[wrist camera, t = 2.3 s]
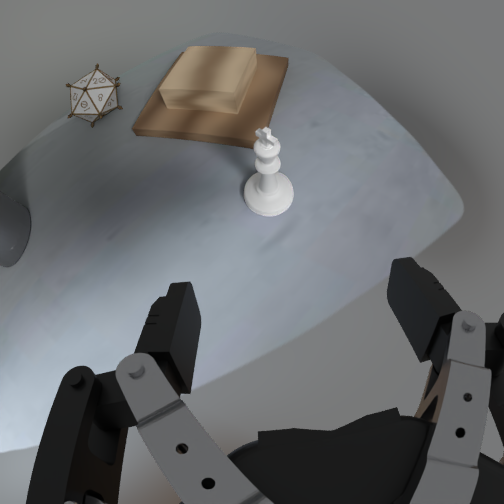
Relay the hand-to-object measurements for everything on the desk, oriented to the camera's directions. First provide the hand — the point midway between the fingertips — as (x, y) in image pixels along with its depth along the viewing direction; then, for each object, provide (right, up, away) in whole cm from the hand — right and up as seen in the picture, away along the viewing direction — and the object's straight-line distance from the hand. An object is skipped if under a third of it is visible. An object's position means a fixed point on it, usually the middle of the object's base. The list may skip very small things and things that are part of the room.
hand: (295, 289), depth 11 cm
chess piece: (0, +7, +17) cm, 19 cm away
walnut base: (-6, +22, +22) cm, 31 cm away
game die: (-23, +22, +23) cm, 39 cm away
